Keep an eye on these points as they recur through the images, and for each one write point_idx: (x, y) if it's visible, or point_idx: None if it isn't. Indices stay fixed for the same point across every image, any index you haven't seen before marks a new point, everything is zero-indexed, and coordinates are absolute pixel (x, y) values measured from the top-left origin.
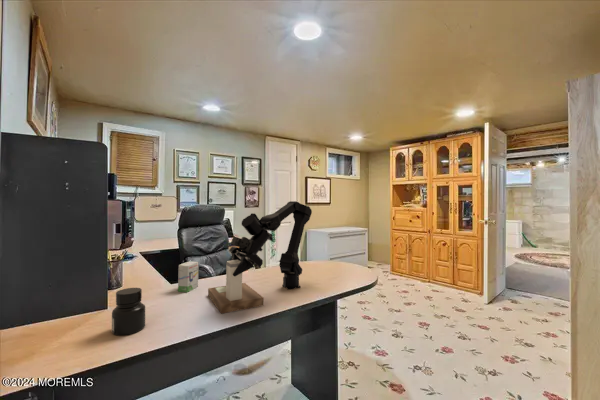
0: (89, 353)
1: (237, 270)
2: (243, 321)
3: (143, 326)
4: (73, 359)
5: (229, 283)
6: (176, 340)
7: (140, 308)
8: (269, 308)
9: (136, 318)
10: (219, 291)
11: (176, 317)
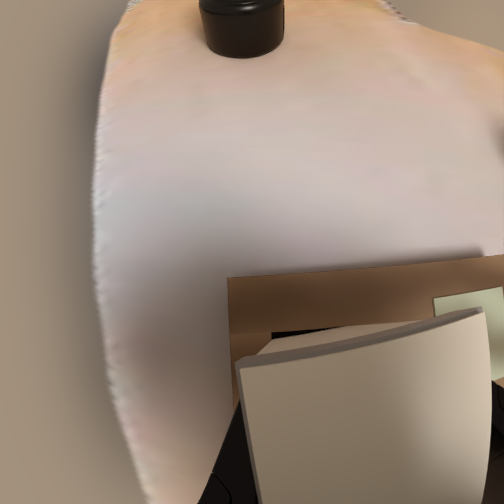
0: (165, 19)
1: (228, 440)
2: (110, 350)
3: (227, 53)
4: (159, 12)
5: (296, 340)
6: (105, 131)
7: (213, 7)
8: (196, 493)
9: (204, 22)
10: (450, 302)
11: (279, 121)
